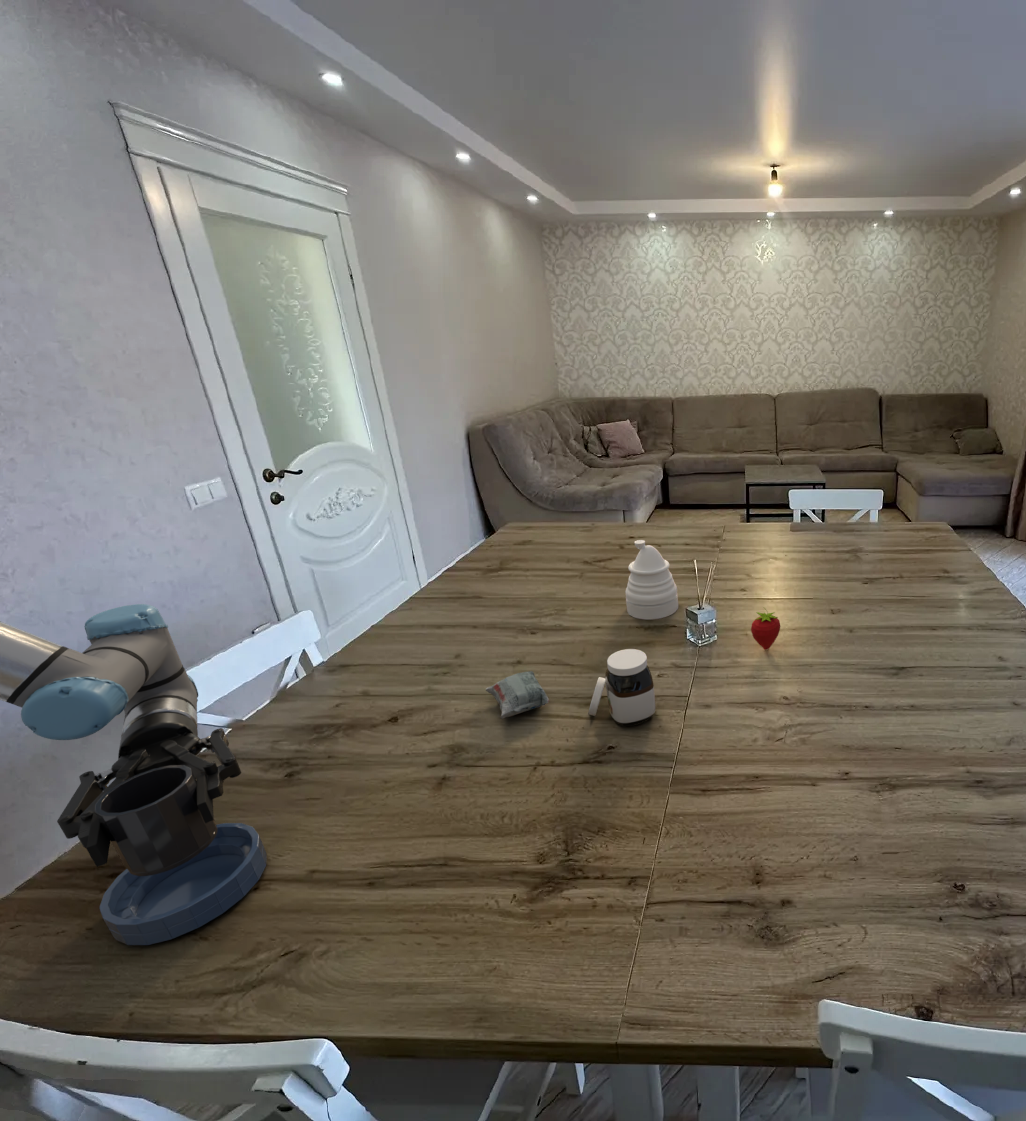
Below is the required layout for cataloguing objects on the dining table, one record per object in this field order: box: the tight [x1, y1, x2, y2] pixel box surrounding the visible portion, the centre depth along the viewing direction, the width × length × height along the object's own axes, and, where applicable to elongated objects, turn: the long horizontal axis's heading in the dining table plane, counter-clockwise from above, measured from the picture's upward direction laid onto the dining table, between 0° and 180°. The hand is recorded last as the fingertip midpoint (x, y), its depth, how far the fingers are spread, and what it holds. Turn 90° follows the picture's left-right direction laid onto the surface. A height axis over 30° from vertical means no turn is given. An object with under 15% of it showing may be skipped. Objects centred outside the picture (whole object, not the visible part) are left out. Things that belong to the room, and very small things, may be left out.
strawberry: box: [750, 608, 782, 651], centre depth 126 cm, size 6×8×10 cm
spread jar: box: [587, 648, 656, 727], centre depth 104 cm, size 12×11×12 cm
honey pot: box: [624, 539, 679, 620], centre depth 144 cm, size 13×13×18 cm
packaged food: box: [485, 670, 550, 720], centre depth 108 cm, size 9×12×5 cm
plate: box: [99, 822, 268, 946], centre depth 72 cm, size 14×14×4 cm
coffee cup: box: [95, 765, 217, 876], centre depth 69 cm, size 8×8×9 cm
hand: (153, 833), depth 65 cm, fingers closed on coffee cup, 8 cm apart
